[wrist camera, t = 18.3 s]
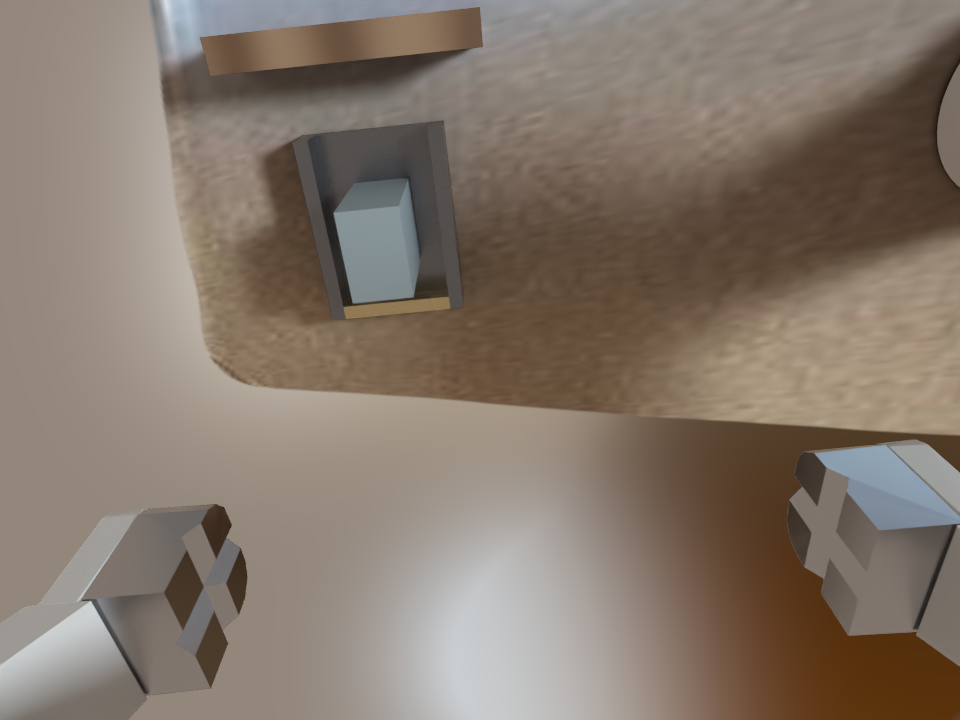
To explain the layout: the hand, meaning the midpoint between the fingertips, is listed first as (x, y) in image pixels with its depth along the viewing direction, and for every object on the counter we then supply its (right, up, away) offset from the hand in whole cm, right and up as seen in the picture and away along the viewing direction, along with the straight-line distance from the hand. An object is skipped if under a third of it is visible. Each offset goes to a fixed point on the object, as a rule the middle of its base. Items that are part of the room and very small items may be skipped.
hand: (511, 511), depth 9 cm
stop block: (-7, +12, +37) cm, 40 cm away
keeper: (-7, +13, +37) cm, 40 cm away
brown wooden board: (-8, +23, +32) cm, 40 cm away
